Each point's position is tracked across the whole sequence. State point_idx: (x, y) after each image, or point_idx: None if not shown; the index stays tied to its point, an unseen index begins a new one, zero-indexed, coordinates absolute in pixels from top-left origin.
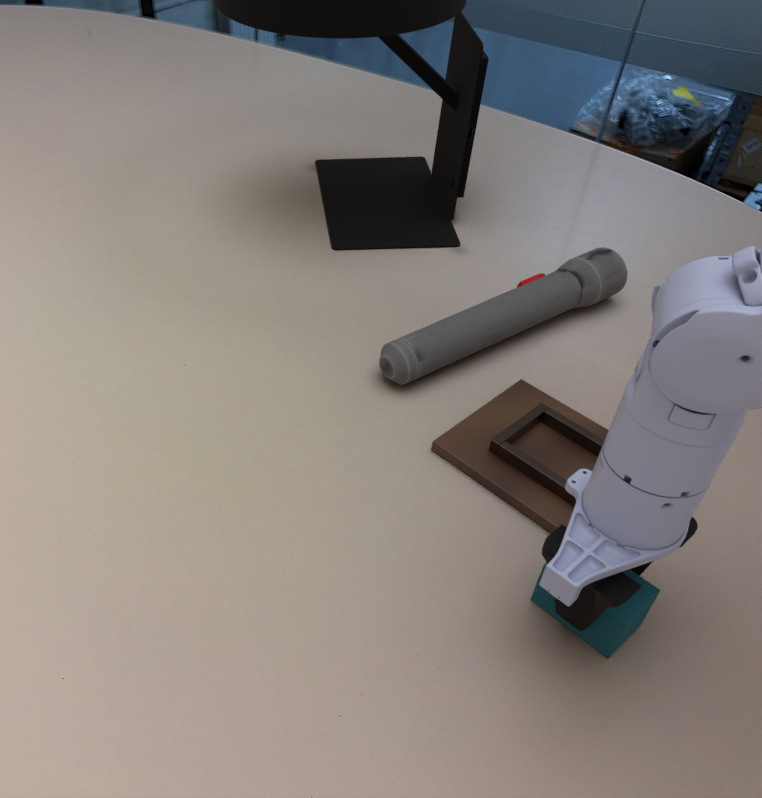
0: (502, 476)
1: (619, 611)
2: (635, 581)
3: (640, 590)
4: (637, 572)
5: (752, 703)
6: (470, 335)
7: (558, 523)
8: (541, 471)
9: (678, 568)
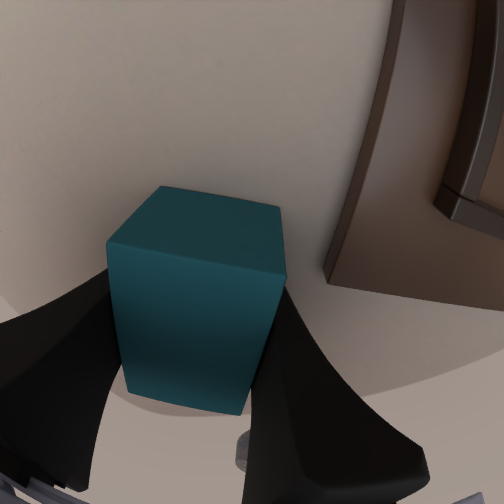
0: (436, 9)
1: (140, 384)
2: (78, 487)
3: (213, 400)
4: (252, 392)
5: (227, 415)
6: None
7: (380, 163)
8: (490, 91)
9: (382, 340)
